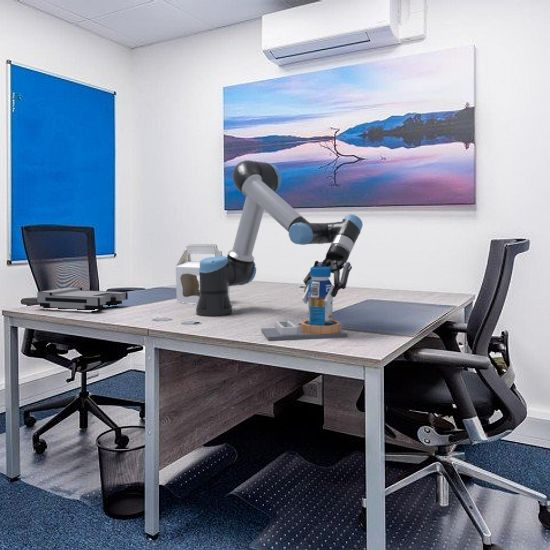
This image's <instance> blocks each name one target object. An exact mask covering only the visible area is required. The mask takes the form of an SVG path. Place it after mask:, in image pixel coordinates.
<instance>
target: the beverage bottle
mask: <svg viewBox="0 0 550 550" xmlns="http://www.w3.org/2000/svg"><path fill="white" fill-rule="evenodd" d="M309 272H310V276H311V277H312V280H311V281H310V283H309V286H308V289H309V293H308V302H307V305H308V319H307V320H308V325H314V326H330V325H333V321H332V320H333V305H334V304H333V300H334V298H333V299H332V301H331V304H330V306H327V305H326V303H325V301H324V300H325V298H326V296H327V294H328V292H329V290H330V288H331V285H333V284H332V282H331V280H330V278H331V276H332V275H331V274H332V273H331V269H330V267H313V266H312V267H310V269H309Z"/></svg>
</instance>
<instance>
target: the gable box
mask: <svg viewBox="0 0 550 550" xmlns="http://www.w3.org/2000/svg"><path fill="white" fill-rule="evenodd" d="M185 247H186V250H183V253H182V255H181V257H180V259H179V260H178V262H177V264H176V266H175V283H176V284H175V289H176V303H177V302H184V303H183V304H185V303H196V304H195V305H197V304H198V300H199V297H200V281H199V280H198V277H197V276H200V275H199V268H200V261H192V257H191V255H193V254H195V255H197V254H199V255H215V256H214V257H216V256H223V254H222V253H223V252H222V250H219V249H218V245H217V244H216V243H213V244H211V243H210V244H209V243H189V244H187V246H185ZM228 296H229V299H230V298H231V297H230V286H228ZM230 300H231V299H230Z"/></svg>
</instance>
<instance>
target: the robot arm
mask: <svg viewBox="0 0 550 550" xmlns="http://www.w3.org/2000/svg"><path fill="white" fill-rule="evenodd" d="M231 177H232V182H233V184H234V187H236V189H237V190H238V191H239V192H240V193H241V194H242V195H243V196H245V200H244V204H243V208H242V211H241V216H240V220H239V223H238V228H237V231H236V234H235V239H234V242H233V247H232V249H231V250H229V251H228V252H227V255H226V256H216V257H215V256H210V257H206V258H202V259H201V260H200V261H199V262H200V268H199V275H198V276H199V292H200V297H199V300H198V304H196V308H195V313H196V314H195V315H197V316H204V317H205V316H206V317H219V315H221V316H228V315H231V314H233V312H234V311H233V305H232V302H231V299H229V296H228V286H229V287H232V286H233V287H235V286H236V287H237V286H244V285H247V284H249V283H251V282H253V280H255V279H254V278H255V277H256V273H257V266H256V263H255V257H254V256H253V251H254V249H255V244H256V242H257V237H258V234H259V231H260V227H261V223H262V219H263V214H264V212H266V213H268V214H267V215H269V216H271V218H273V220H275V221H276V222H277V223H278V224H279V225H280V226H281V227H282V228H283V229H285V230H286V231H287V232H288V237H289V239H290V241H291V242H292V243H293V244H295V245H301V246H302V245H303V246H304V245H305V246H307V245H314V244H315V245H323V244H330V246H329V248H328V249H327V252H326V254H325V258H324V260H322V261H318V260H316V261H314V264H313V266H312V267H330V269H331V274H333V284H332V285H331V288H330V290H329V292H328V294H327V296H326V298H325V300H324V301H325V303H326V305H327V306H330V304H331V301H332V299H333V300H334V298H336V296H337V294H338V293H339V291H340V290H341V289H342V290H345V289H346V287H347V283H348V280H349V279H348V278H349V274H350V271H352V268H353V267H352V264H351V262H350V261H348V259H349V258H350V255H351V253H352V251H353V249H354V247H355V243H356V241H357V239H358V238H359V235H360V234H361V231H362V228H363V225H364V224H363V221H362V219H361V218H360V217H359V216H357V215H355V214H347V215H345V216H344V217H343V219H342V220H341V221H336V222H309V220H308V219H306V218H304V217H303V215H301V214H300V212H298V211H297V210H296V209H295V208H293V207H292V206H291V205H290V204H289V203H288V202H286V200H284V199H283V198H282V197H281V196H280V195H278V193H276V192H277V191H278V190H279V189H280V187H281V185H282V174H281V172H280V170H279V168H278V167H277V166H276V165H275V164H272V163H269V162H264V161H263V162H262V161H256V160H255V161H254V160H242V161H240V162H238V163H237V164H236V165H235V167H234V168H233V170H232V174H231ZM341 270H342V273H341ZM311 280H312V277H311V276H310V271H309V272H308V274H307V275H306V276H305V278H304V279H303V283H304V285H305V287H304V289H303V295H302V297H301V300H302V302H303V304H304V305H305V304H307V305H308V293H309V289H308V286H309V283H310V281H311Z"/></svg>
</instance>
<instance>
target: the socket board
mask: <svg viewBox="0 0 550 550" xmlns="http://www.w3.org/2000/svg"><path fill="white" fill-rule="evenodd" d="M308 320H309V319H305V320H302V321H301V322H300V326H297V325H295V324H294V323H293V322H291V320H275V321H274V327H263V328H262V327H261V328H260V330H261V331H260V332H261V334H262V335H263V334H264V335H263V336H264V337H265V338H266V339H267V341H268V342H269V341H270V342H271V341H290V340H309V339H311V340H312V339H333V338H348V332H346V331H344V330H343V329H342V328H341V327H342V322H341V321H339V320H335V319H332V321H333V325H330V326H314V325H308Z"/></svg>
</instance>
